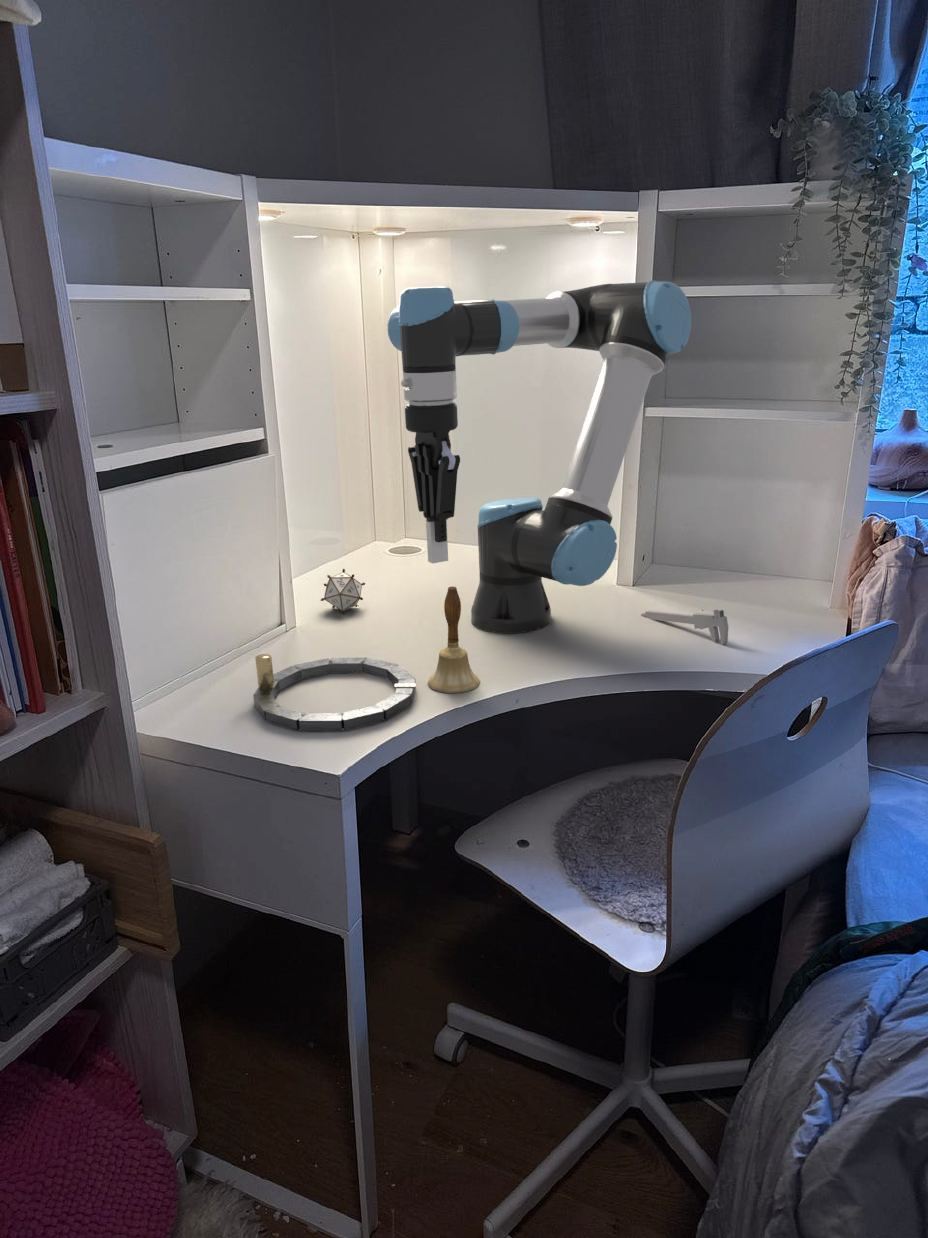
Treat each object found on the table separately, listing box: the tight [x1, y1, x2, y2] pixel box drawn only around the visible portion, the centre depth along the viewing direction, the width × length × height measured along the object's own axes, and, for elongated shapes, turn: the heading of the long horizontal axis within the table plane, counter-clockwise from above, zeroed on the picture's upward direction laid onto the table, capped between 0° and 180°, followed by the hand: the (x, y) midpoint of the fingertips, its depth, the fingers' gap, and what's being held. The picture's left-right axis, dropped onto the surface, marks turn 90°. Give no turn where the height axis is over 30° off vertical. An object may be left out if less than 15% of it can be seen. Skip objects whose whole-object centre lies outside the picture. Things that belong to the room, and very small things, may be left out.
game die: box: [320, 568, 366, 615], centre depth 176 cm, size 9×8×10 cm
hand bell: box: [427, 586, 481, 694], centre depth 138 cm, size 8×8×16 cm
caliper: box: [640, 608, 729, 645], centre depth 161 cm, size 20×1×6 cm, turn 33°
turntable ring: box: [252, 653, 417, 732], centre depth 136 cm, size 24×24×7 cm
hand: (438, 560), depth 135 cm, fingers closed
